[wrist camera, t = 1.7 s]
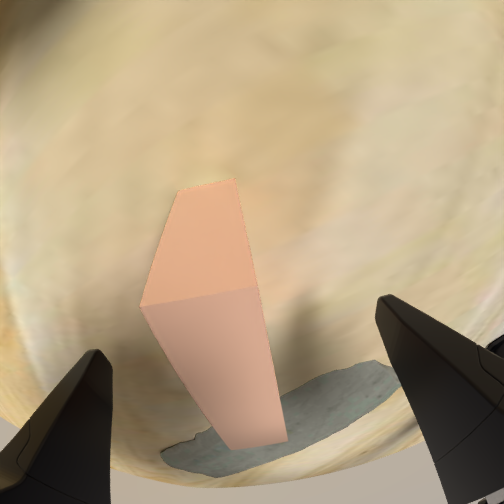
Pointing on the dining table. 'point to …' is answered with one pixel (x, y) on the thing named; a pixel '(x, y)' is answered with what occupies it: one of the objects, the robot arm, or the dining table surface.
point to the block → (215, 316)
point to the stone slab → (294, 420)
